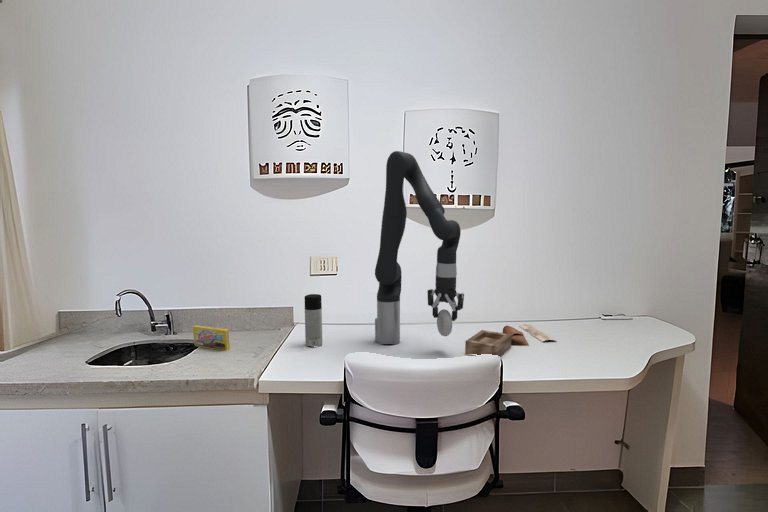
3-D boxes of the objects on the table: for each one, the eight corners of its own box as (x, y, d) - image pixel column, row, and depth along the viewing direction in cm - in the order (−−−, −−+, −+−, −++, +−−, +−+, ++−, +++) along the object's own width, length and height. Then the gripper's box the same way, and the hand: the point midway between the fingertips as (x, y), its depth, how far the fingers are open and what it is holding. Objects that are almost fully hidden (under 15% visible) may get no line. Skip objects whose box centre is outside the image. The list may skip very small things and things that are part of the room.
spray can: (325, 343, 180) (324, 294, 177) (316, 348, 173) (315, 297, 171) (311, 341, 182) (310, 293, 180) (302, 346, 176) (300, 296, 174)
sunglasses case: (530, 345, 175) (522, 331, 175) (514, 354, 176) (505, 339, 176) (522, 332, 193) (514, 319, 193) (507, 340, 194) (500, 327, 194)
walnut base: (465, 354, 166) (465, 341, 166) (481, 342, 181) (481, 329, 180) (496, 360, 160) (497, 346, 159) (511, 347, 174) (511, 334, 174)
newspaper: (556, 343, 181) (556, 339, 180) (539, 344, 180) (539, 340, 180) (531, 327, 204) (531, 323, 204) (516, 328, 203) (516, 324, 203)
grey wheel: (453, 339, 163) (454, 312, 162) (444, 340, 162) (445, 313, 161) (443, 331, 173) (444, 306, 171) (435, 332, 172) (435, 306, 171)
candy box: (193, 346, 177) (192, 326, 176) (197, 345, 179) (196, 324, 178) (226, 351, 171) (225, 330, 170) (230, 349, 173) (229, 328, 172)
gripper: (423, 274, 165) (422, 318, 167) (460, 278, 157) (458, 324, 160) (433, 271, 171) (431, 314, 174) (468, 275, 164) (466, 319, 166)
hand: (444, 318), depth 167 cm, fingers closed on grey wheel, 7 cm apart
